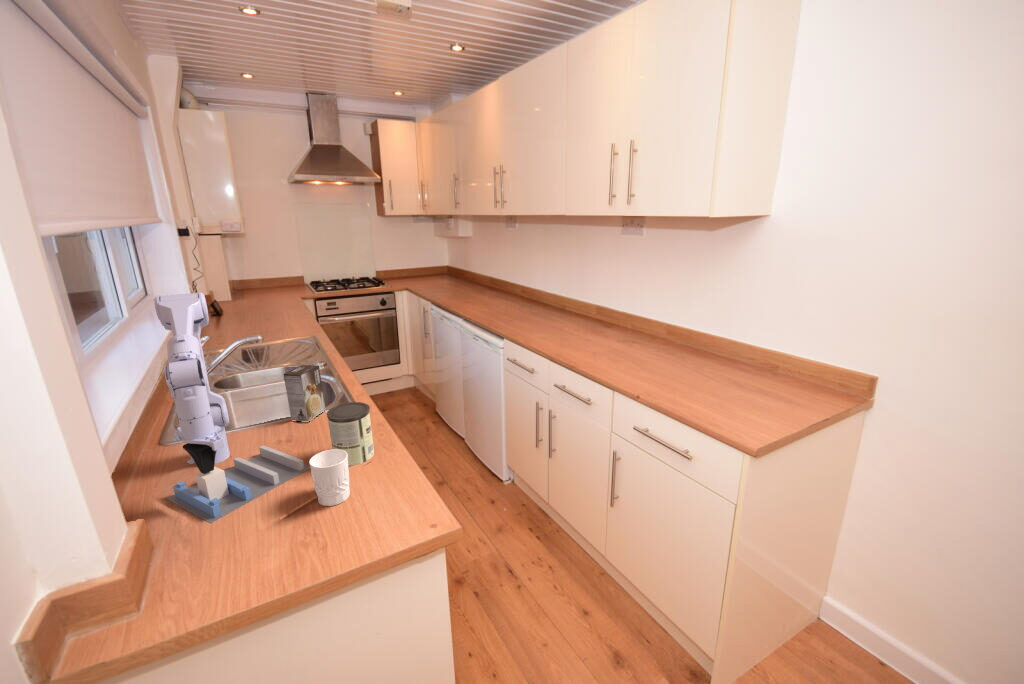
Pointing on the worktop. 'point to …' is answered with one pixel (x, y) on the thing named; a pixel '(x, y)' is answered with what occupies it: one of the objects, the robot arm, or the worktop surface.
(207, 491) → the cream plug
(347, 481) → the white cup
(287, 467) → the grey railed board
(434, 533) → the worktop surface
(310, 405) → the coffee box
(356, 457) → the coffee can
